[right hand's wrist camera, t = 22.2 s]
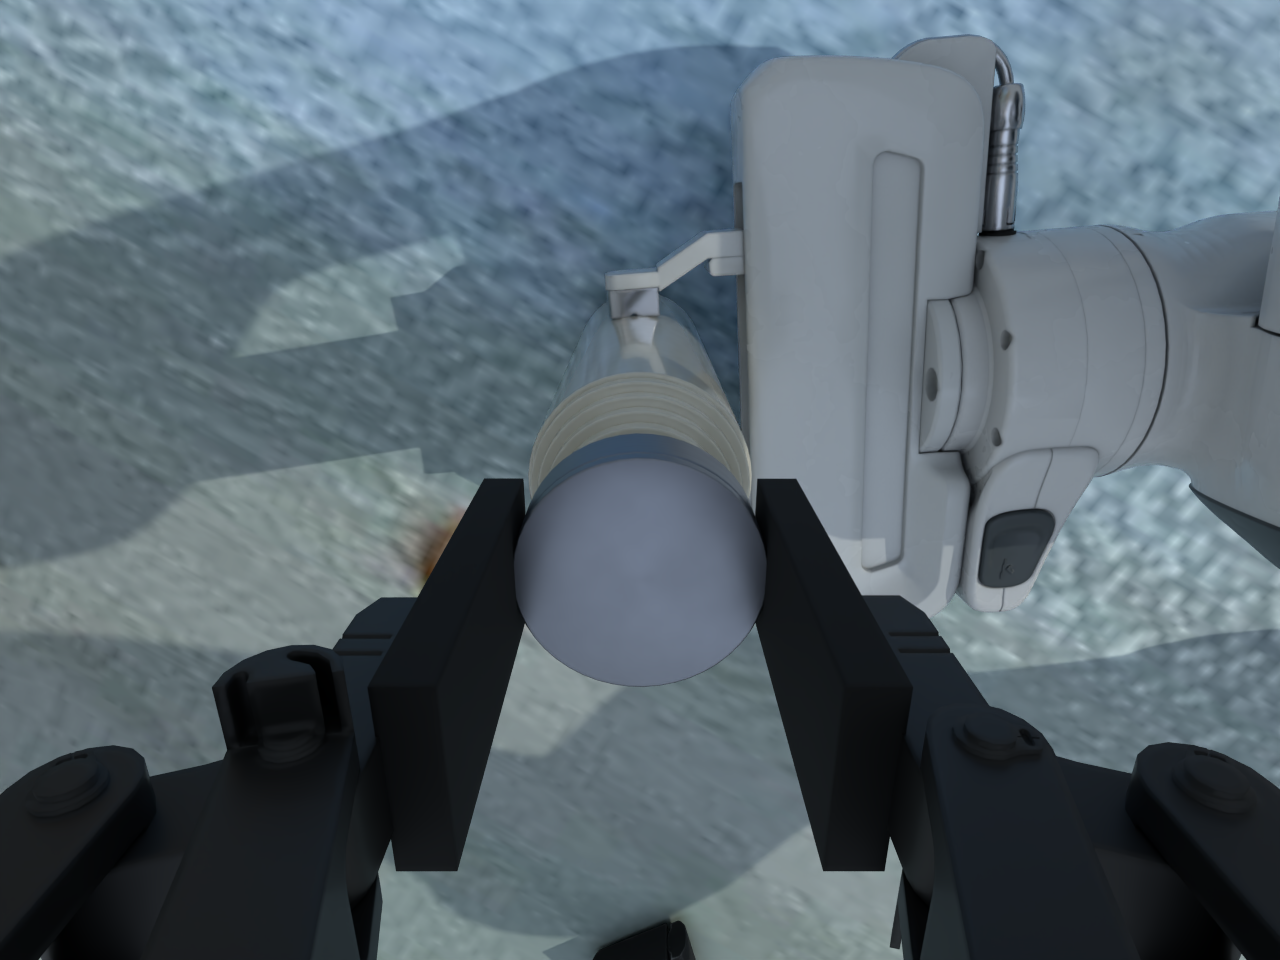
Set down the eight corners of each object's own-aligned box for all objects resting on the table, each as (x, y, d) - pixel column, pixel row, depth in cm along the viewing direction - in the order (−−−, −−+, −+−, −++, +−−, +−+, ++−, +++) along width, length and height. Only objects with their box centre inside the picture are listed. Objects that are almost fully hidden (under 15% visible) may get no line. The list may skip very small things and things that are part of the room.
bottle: (699, 288, 32) (786, 416, 13) (702, 409, 34) (782, 677, 15) (574, 295, 32) (477, 433, 13) (584, 415, 34) (513, 690, 15)
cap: (767, 626, 15) (781, 670, 14) (549, 657, 16) (540, 702, 14) (743, 414, 14) (754, 438, 12) (499, 451, 14) (484, 480, 13)
